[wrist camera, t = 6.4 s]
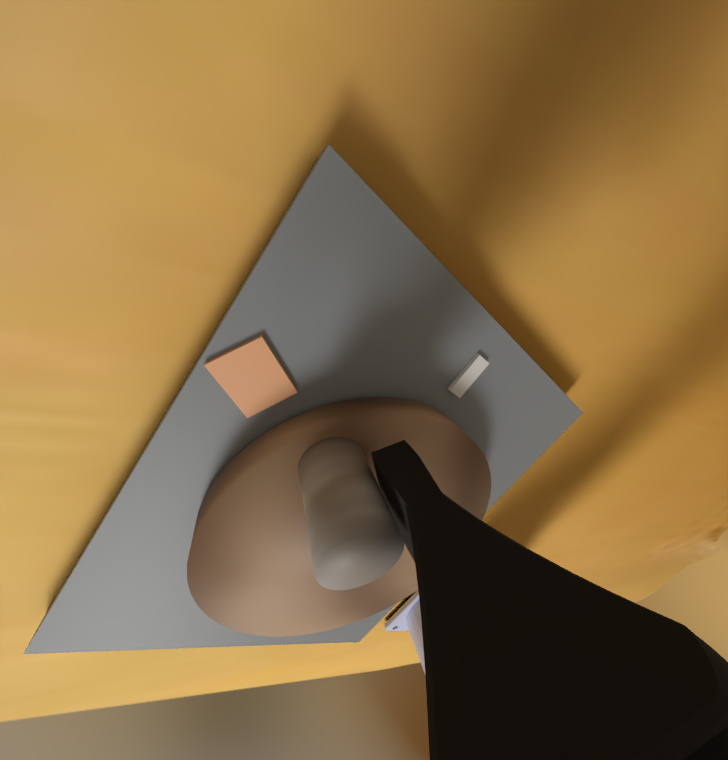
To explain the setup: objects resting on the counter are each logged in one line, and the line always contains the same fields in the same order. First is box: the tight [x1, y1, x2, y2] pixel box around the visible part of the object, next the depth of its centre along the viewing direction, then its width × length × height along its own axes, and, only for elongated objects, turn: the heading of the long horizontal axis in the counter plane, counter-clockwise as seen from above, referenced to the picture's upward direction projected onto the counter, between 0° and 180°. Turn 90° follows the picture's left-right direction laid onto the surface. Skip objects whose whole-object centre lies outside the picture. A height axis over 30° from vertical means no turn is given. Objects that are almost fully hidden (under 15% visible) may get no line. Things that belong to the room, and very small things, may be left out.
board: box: [24, 145, 583, 654], centre depth 15 cm, size 19×23×2 cm
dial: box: [187, 397, 491, 637], centre depth 12 cm, size 14×14×5 cm
